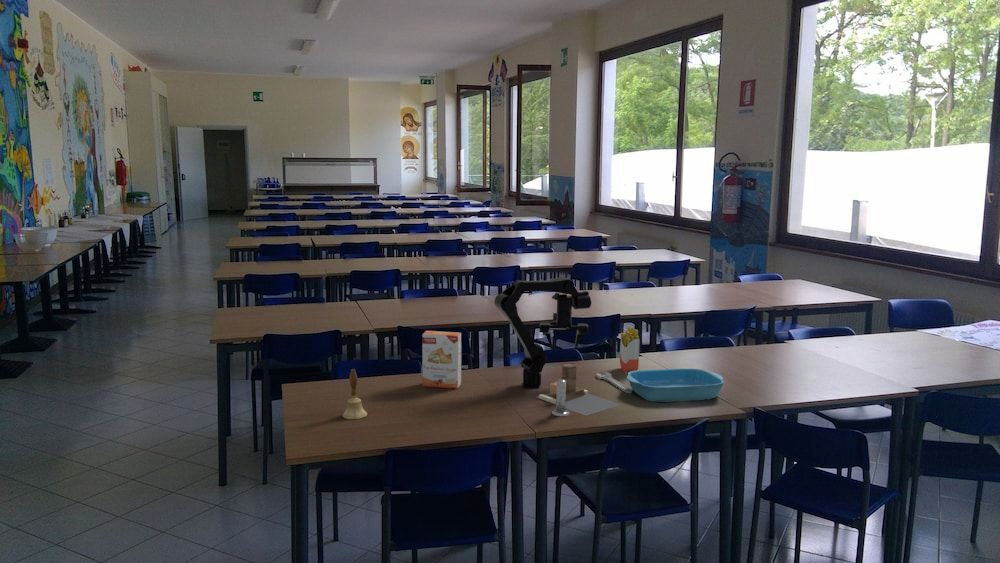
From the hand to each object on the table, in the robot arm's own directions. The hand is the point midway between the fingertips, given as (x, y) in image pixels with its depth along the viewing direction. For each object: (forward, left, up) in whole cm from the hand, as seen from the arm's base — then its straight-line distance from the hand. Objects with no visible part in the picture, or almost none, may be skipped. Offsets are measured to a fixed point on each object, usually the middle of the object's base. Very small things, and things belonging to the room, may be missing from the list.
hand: (563, 349), depth 282 cm
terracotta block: (-1, -17, -13) cm, 21 cm away
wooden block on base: (+2, -20, -13) cm, 24 cm away
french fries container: (+27, +18, -13) cm, 35 cm away
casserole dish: (+41, -11, -14) cm, 45 cm away
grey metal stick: (-1, -37, -13) cm, 39 cm away
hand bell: (-70, -45, -13) cm, 84 cm away
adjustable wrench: (+19, -1, -14) cm, 24 cm away
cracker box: (-46, -10, -13) cm, 49 cm away
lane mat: (+5, -23, -13) cm, 27 cm away
